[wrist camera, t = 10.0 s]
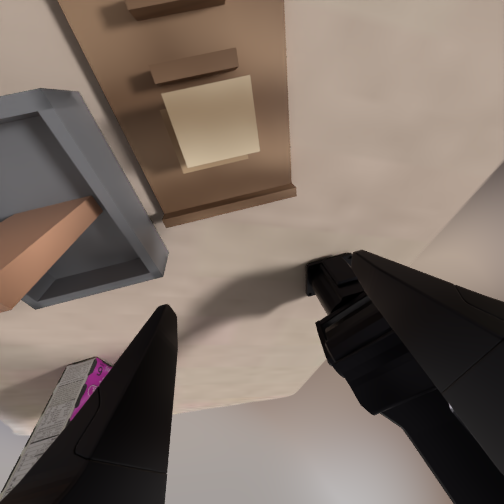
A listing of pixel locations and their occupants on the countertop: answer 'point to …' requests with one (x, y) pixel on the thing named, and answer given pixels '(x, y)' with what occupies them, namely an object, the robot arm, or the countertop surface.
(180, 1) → the rack
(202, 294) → the countertop surface
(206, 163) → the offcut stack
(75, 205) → the slat
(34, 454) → the candy bar box
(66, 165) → the tray
